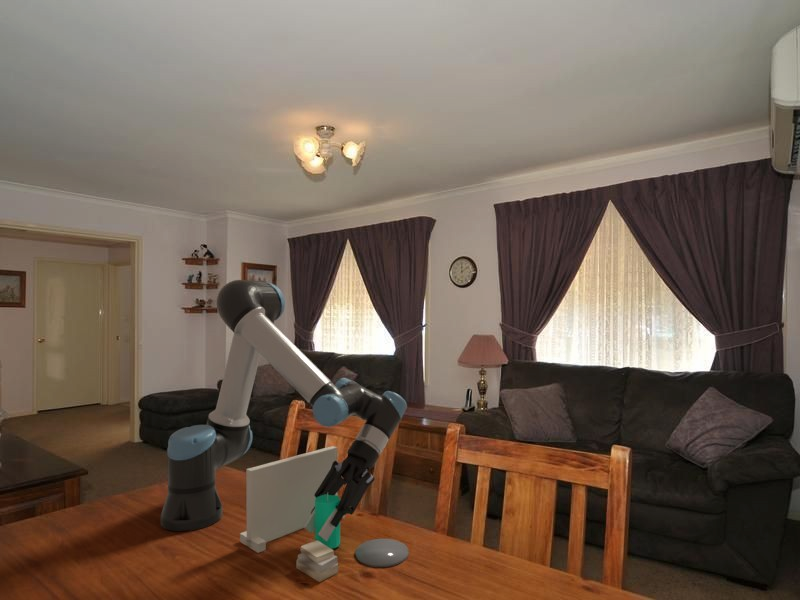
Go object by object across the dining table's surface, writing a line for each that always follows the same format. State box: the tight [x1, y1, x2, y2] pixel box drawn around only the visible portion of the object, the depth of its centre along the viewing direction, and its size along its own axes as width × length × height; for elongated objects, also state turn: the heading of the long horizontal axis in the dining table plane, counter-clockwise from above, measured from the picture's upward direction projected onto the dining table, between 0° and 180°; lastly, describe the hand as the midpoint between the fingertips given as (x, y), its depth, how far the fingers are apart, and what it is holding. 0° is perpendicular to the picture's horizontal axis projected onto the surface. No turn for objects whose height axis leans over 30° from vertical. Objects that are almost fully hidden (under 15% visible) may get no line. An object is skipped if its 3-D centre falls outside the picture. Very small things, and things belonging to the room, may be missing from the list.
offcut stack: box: [295, 540, 339, 583], centre depth 109 cm, size 8×5×4 cm, turn 47°
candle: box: [314, 492, 341, 550], centre depth 120 cm, size 6×6×12 cm
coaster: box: [355, 538, 409, 568], centre depth 116 cm, size 12×12×1 cm
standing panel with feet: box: [239, 445, 346, 554], centre depth 129 cm, size 8×26×18 cm, turn 137°
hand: (314, 533), depth 117 cm, fingers closed on candle, 5 cm apart
